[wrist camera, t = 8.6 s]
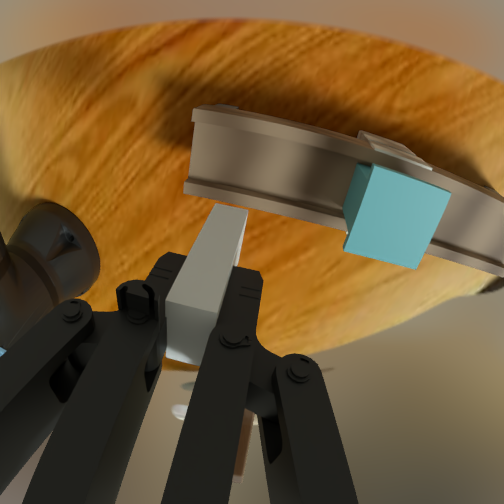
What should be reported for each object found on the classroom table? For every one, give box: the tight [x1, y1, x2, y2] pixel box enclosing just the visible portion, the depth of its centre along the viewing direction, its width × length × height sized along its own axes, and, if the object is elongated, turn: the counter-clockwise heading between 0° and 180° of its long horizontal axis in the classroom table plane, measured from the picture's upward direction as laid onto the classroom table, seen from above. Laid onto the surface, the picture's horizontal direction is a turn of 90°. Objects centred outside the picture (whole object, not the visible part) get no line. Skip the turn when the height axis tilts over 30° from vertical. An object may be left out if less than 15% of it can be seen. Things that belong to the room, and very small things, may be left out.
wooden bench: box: [183, 104, 504, 277], centre depth 26 cm, size 32×7×8 cm, turn 79°
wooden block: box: [232, 409, 255, 483], centre depth 43 cm, size 9×4×18 cm, turn 176°
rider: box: [342, 163, 452, 270], centre depth 21 cm, size 6×6×5 cm
